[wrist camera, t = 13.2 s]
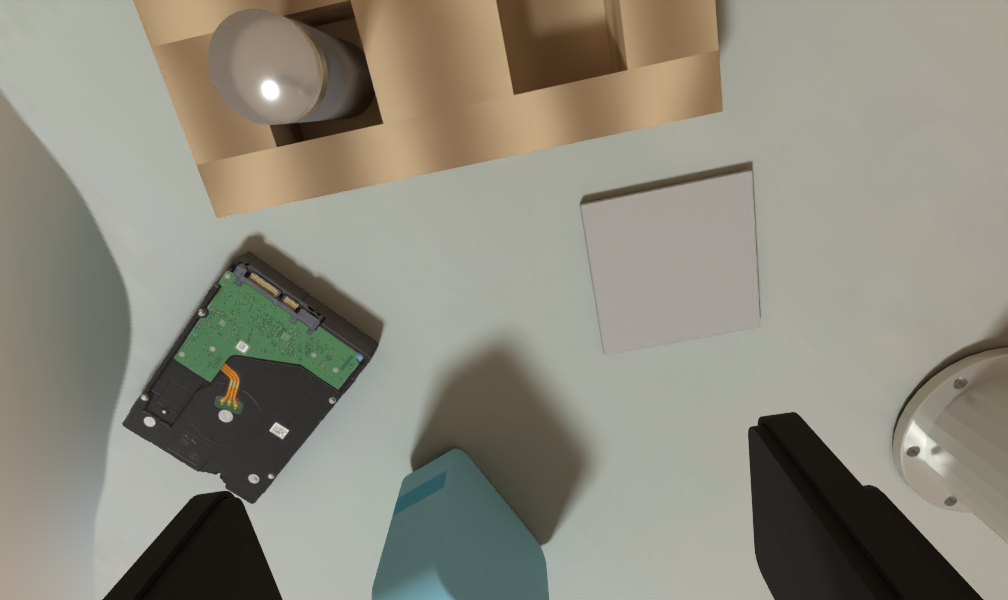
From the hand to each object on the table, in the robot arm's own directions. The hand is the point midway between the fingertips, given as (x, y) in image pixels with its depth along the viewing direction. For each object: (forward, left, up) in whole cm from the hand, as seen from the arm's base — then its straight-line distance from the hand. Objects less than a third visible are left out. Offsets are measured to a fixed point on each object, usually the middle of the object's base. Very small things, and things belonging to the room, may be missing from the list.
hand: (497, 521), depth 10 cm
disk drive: (+19, +7, -26) cm, 32 cm away
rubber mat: (-10, +4, -25) cm, 27 cm away
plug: (+7, -10, -24) cm, 27 cm away
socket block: (+1, -12, -25) cm, 28 cm away
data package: (+6, +20, -25) cm, 33 cm away
